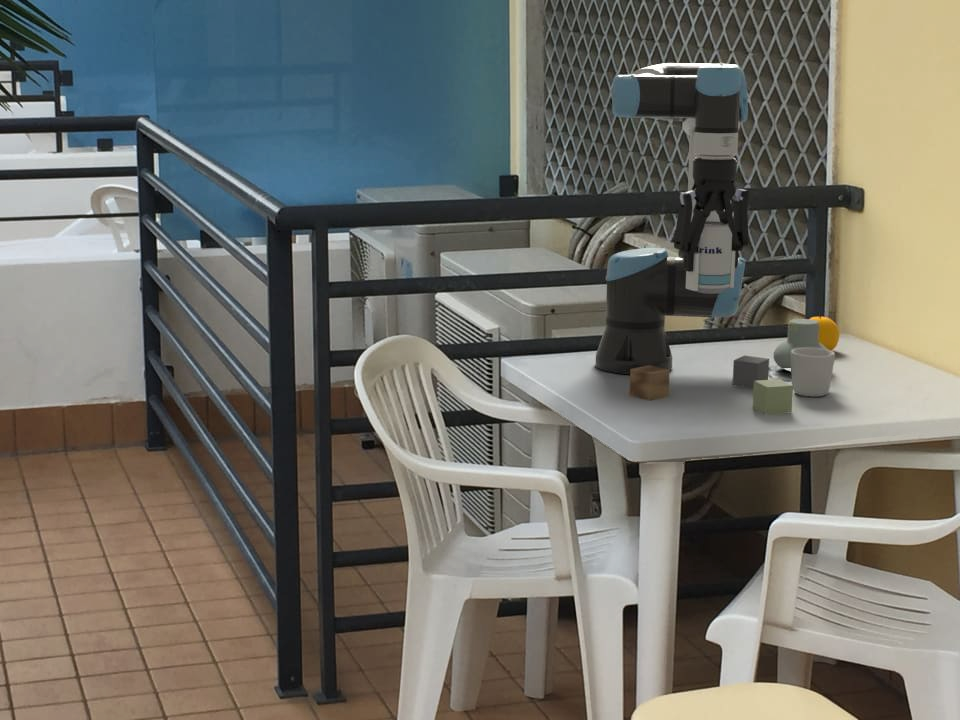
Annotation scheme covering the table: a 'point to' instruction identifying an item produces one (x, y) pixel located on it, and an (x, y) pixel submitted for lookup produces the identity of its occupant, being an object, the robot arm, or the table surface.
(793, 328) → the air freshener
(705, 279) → the beverage can
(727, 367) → the table surface
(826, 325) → the orange
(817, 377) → the cup
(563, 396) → the table surface
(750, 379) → the charcoal block
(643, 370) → the walnut block
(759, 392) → the olive block
